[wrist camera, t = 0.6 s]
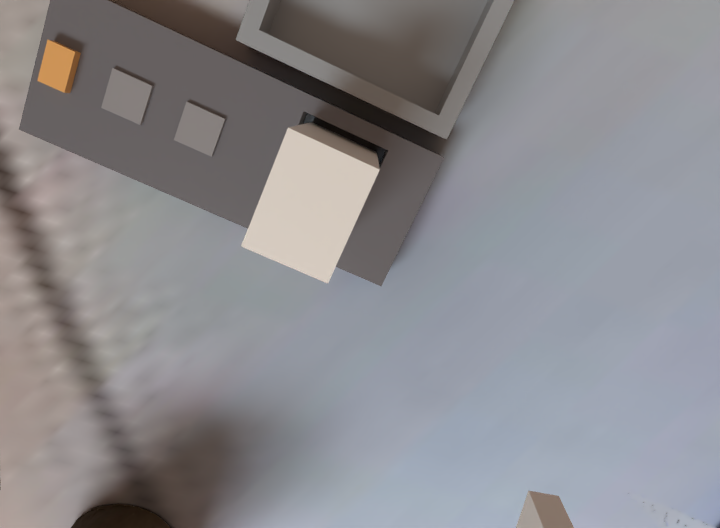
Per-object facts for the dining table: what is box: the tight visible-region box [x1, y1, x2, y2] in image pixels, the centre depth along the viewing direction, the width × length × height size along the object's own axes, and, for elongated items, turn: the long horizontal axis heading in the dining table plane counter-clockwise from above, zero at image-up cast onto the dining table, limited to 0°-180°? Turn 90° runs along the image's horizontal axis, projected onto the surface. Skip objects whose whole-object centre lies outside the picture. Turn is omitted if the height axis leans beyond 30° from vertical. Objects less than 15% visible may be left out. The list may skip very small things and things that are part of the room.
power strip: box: [19, 0, 444, 286], centre depth 32 cm, size 24×9×3 cm, turn 66°
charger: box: [241, 122, 380, 283], centre depth 29 cm, size 4×6×10 cm
